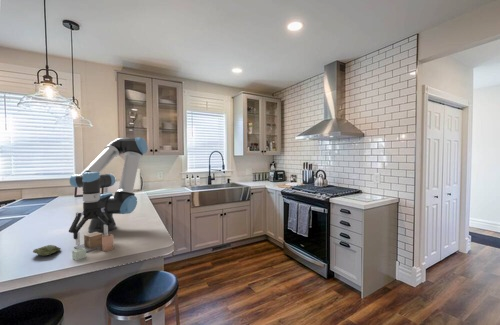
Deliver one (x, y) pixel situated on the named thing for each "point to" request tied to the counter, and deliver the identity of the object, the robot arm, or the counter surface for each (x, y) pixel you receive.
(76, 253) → the sage block
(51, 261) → the counter surface
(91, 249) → the coaster
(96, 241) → the walnut cube
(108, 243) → the pink glossy pebble
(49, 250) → the seashell
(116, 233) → the counter surface
